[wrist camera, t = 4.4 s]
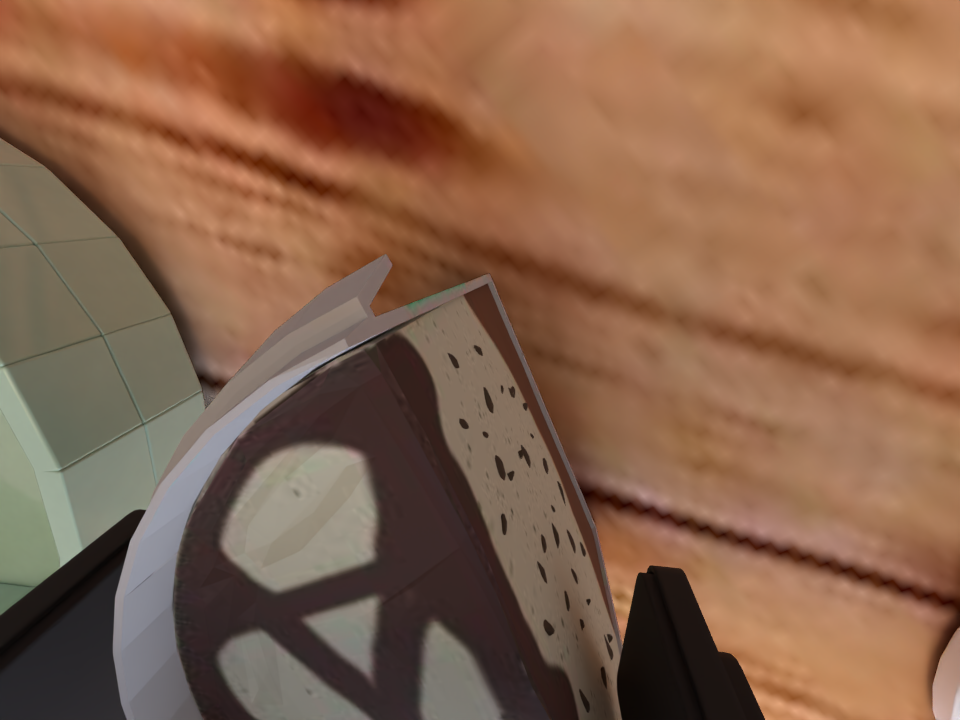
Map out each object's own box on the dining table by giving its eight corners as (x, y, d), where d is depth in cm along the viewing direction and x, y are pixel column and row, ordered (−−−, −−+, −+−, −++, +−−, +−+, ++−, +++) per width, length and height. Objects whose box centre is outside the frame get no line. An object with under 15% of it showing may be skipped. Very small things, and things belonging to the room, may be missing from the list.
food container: (288, 304, 15) (-154, 494, 5) (468, 223, 13) (313, 278, 4) (452, 603, 18) (360, 1060, 8) (611, 562, 16) (717, 1051, 7)
